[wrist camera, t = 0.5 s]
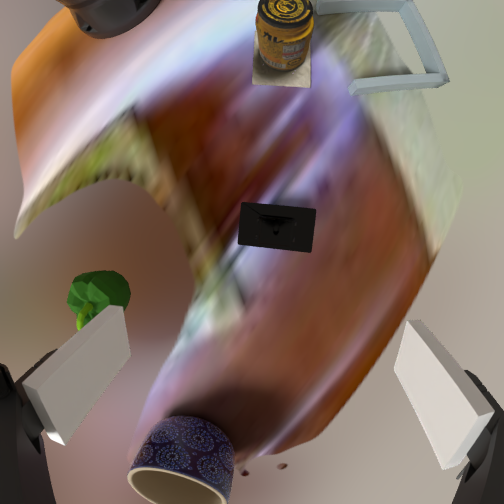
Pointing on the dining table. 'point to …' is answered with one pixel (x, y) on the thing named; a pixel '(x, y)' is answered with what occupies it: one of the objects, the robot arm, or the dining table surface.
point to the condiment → (283, 43)
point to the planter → (184, 463)
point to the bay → (331, 3)
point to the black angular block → (276, 226)
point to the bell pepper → (97, 294)
